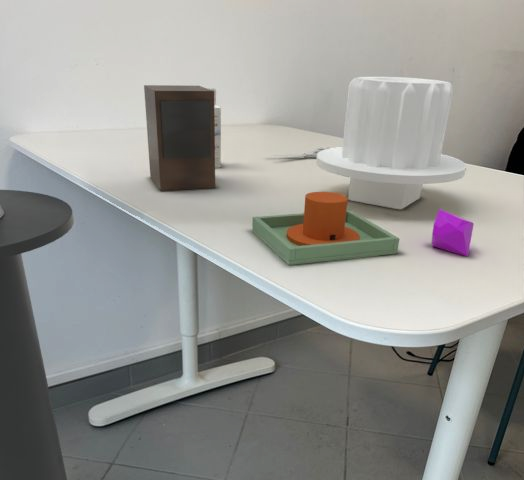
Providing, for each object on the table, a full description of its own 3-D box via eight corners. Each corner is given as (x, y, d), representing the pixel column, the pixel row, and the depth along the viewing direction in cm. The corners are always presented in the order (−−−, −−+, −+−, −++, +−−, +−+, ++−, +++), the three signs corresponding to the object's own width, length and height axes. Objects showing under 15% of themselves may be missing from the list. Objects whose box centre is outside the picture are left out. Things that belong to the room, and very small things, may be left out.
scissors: (355, 154, 126) (284, 160, 116) (355, 158, 126) (284, 164, 117) (328, 147, 133) (259, 151, 124) (328, 150, 134) (259, 155, 125)
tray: (288, 265, 66) (289, 249, 65) (252, 231, 77) (252, 216, 76) (397, 253, 71) (399, 238, 70) (348, 223, 82) (349, 209, 81)
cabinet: (161, 191, 94) (154, 90, 86) (150, 178, 103) (143, 85, 94) (215, 188, 97) (214, 91, 89) (201, 175, 106) (199, 85, 98)
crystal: (427, 251, 72) (434, 217, 70) (432, 239, 77) (439, 207, 74) (467, 257, 71) (475, 223, 68) (470, 245, 75) (478, 212, 73)
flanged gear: (431, 230, 80) (459, 90, 71) (287, 201, 92) (294, 77, 82) (473, 196, 99) (500, 82, 89) (349, 176, 110) (360, 72, 100)
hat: (304, 253, 68) (307, 209, 65) (275, 229, 76) (277, 189, 73) (373, 246, 71) (379, 204, 68) (338, 224, 79) (342, 185, 76)
